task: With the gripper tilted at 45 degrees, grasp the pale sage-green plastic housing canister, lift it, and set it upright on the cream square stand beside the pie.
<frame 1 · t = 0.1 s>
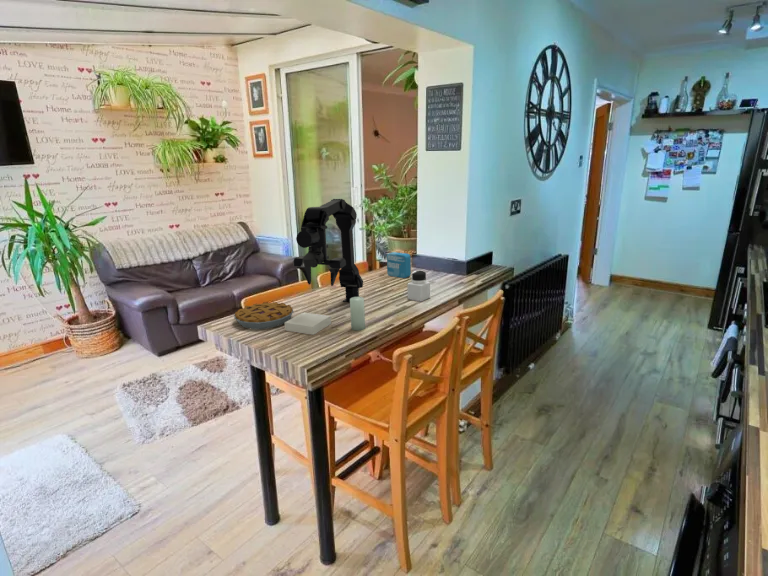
hand: (320, 285, 163), 15 cm above the table, tool pointing down, fingers open, 9 cm apart
pie: (265, 321, 171), on the table
data package: (398, 276, 231), on the table
stand: (308, 326, 162), on the table
medicine bottle: (418, 298, 193), on the table
housing canister: (358, 327, 160), on the table
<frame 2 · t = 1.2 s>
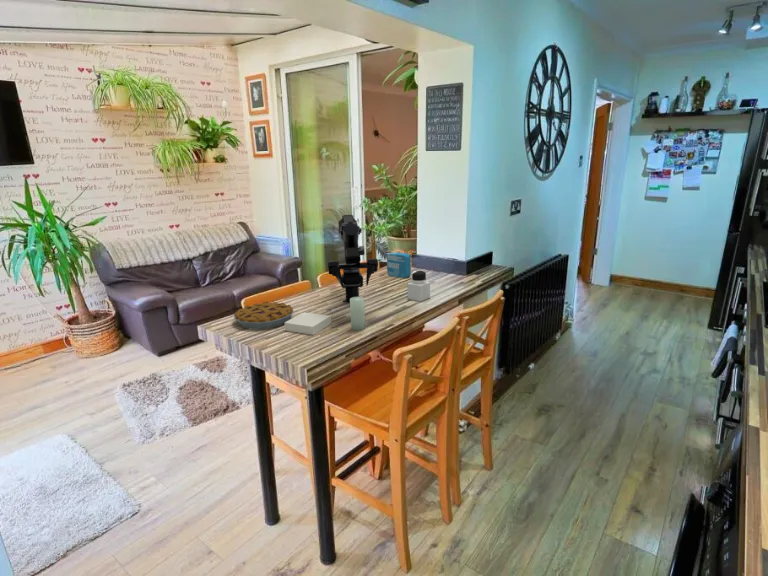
hand: (354, 285, 164), 14 cm above the table, tool tilted 45°, fingers open, 9 cm apart
nothing on the table moved.
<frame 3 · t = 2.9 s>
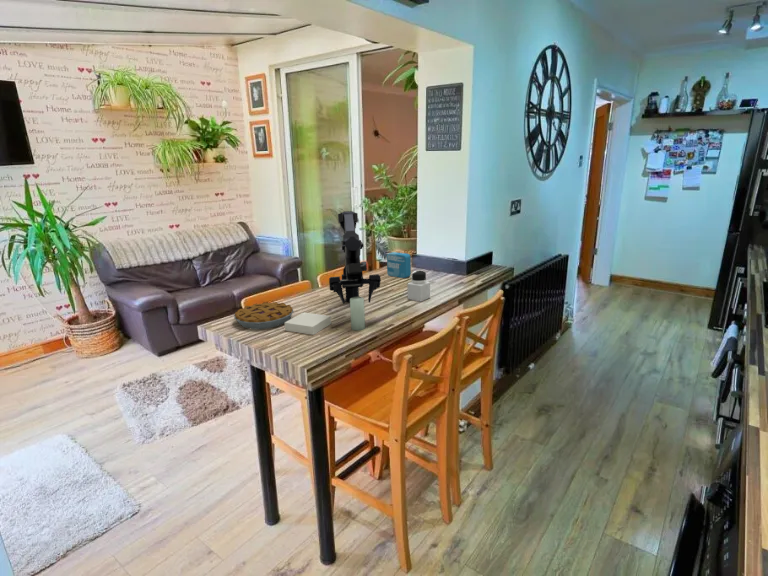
hand: (356, 302, 159), 9 cm above the table, tool tilted 45°, fingers open, 9 cm apart
nothing on the table moved.
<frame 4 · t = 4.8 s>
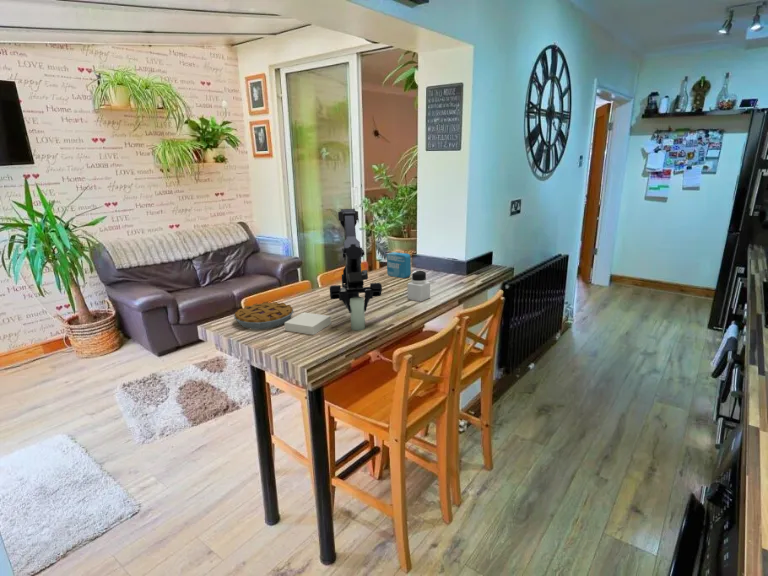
hand: (357, 311, 157), 7 cm above the table, tool tilted 45°, fingers closed on housing canister, 5 cm apart
housing canister: (358, 327, 160), on the table, touching gripper
everything else where it was.
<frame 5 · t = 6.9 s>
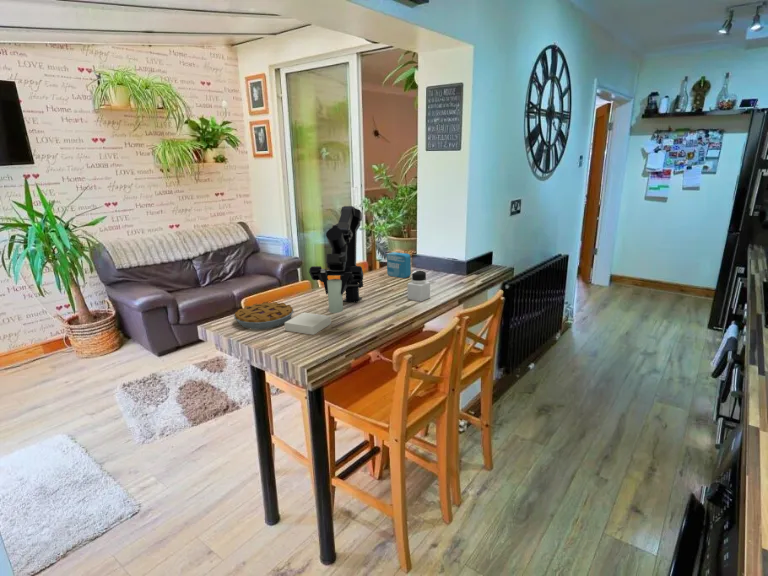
hand: (334, 294, 155), 13 cm above the table, tool tilted 45°, fingers closed on housing canister, 5 cm apart
housing canister: (336, 310, 158), point 7 cm above the table, touching gripper
everything else where it was.
when the fingers open (10 cm above the table, at t = 9.3 s): housing canister stays where it is, resting on stand.
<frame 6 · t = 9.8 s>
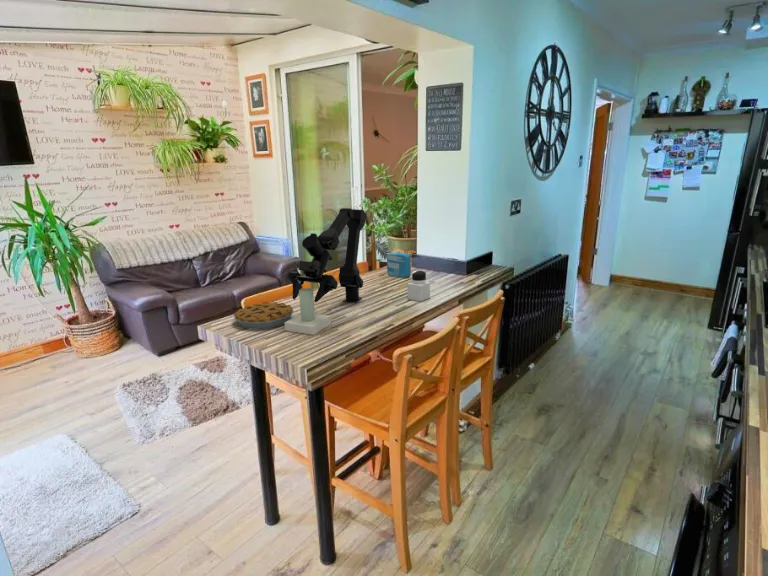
hand: (304, 300, 158), 11 cm above the table, tool tilted 45°, fingers open, 9 cm apart
housing canister: (308, 319, 162), point 3 cm above the table, touching stand
everything else where it was.
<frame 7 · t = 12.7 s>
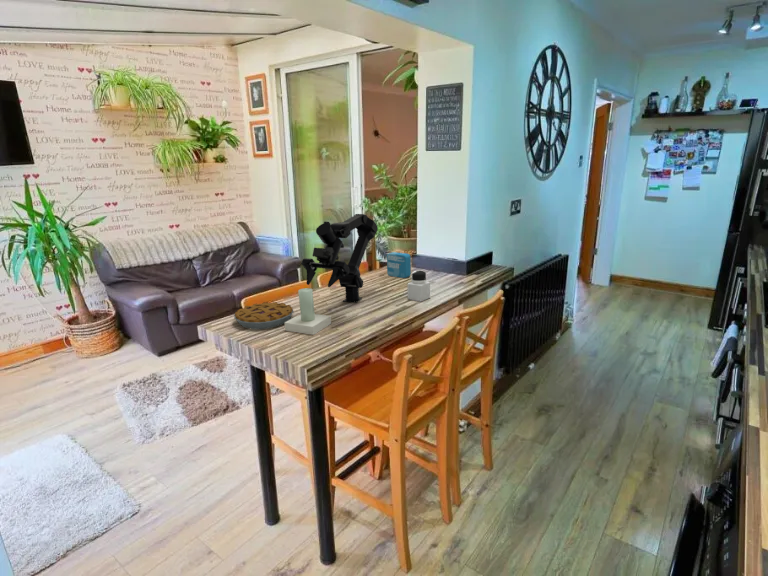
hand: (317, 285, 166), 14 cm above the table, tool tilted 45°, fingers open, 9 cm apart
nothing on the table moved.
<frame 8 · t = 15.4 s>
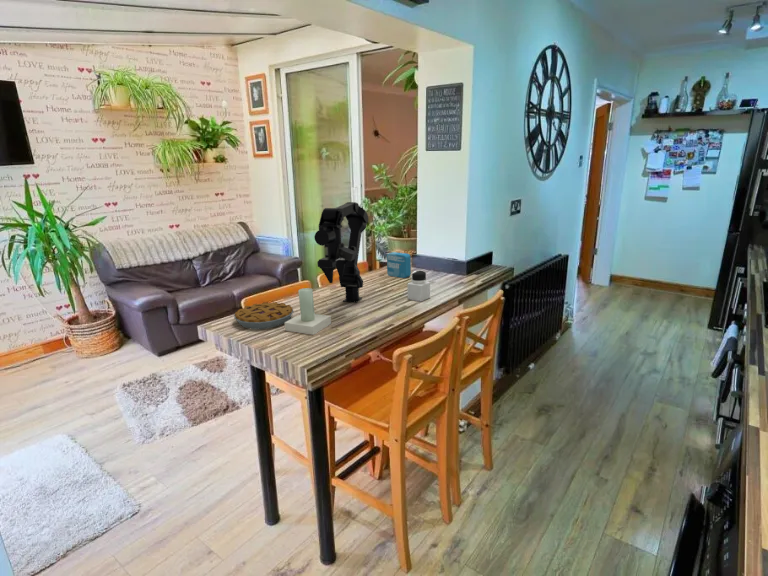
hand: (336, 280, 175), 13 cm above the table, tool pointing down, fingers open, 9 cm apart
nothing on the table moved.
at the end: housing canister inside the target area on the stand (0.0 cm from its centre), point 3.1 cm above the stand's base; housing canister tilted 1°; the gripper is holding nothing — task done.
